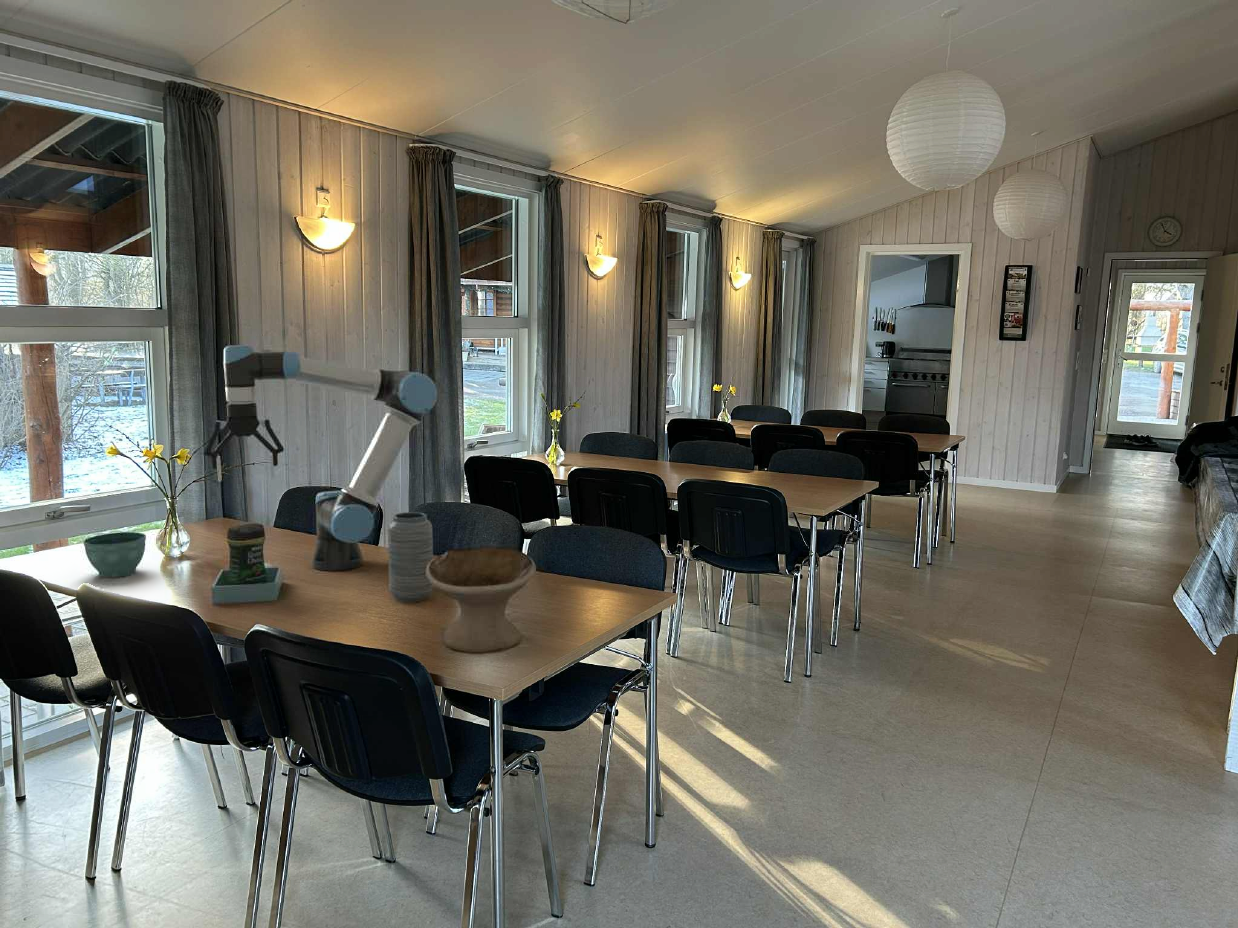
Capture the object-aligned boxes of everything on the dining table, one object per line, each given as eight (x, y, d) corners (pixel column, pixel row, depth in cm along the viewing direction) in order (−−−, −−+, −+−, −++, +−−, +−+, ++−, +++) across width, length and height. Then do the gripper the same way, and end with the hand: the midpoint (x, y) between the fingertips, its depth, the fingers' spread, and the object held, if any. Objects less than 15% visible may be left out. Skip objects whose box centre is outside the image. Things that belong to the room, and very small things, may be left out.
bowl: (404, 650, 213) (403, 565, 210) (461, 618, 236) (460, 541, 233) (504, 666, 204) (504, 577, 201) (553, 631, 227) (553, 552, 224)
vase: (386, 594, 257) (384, 512, 253) (428, 590, 261) (427, 509, 258) (393, 606, 246) (391, 520, 243) (437, 601, 251) (436, 517, 247)
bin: (281, 582, 267) (281, 566, 266) (276, 600, 250) (276, 583, 249) (221, 585, 263) (221, 569, 262) (212, 604, 246) (211, 587, 245)
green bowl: (82, 583, 263) (80, 546, 261) (88, 569, 278) (86, 534, 276) (146, 578, 270) (144, 541, 268) (149, 564, 284) (147, 530, 283)
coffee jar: (241, 597, 250) (238, 529, 248) (223, 592, 255) (220, 525, 252) (272, 588, 258) (269, 523, 256) (255, 584, 263) (252, 519, 260)
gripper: (290, 399, 262) (294, 474, 265) (193, 402, 254) (198, 479, 257) (289, 402, 255) (294, 478, 258) (189, 405, 247) (195, 484, 250)
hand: (246, 479), depth 258 cm, fingers open, 13 cm apart
